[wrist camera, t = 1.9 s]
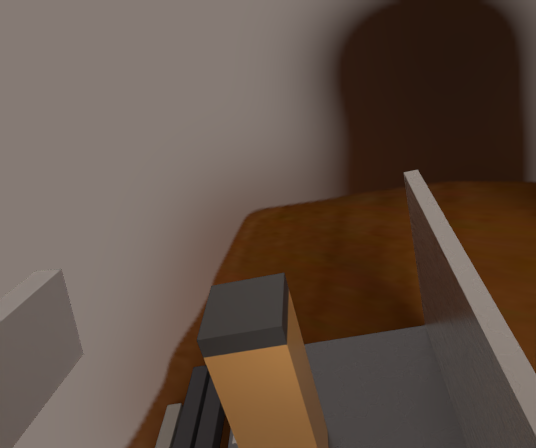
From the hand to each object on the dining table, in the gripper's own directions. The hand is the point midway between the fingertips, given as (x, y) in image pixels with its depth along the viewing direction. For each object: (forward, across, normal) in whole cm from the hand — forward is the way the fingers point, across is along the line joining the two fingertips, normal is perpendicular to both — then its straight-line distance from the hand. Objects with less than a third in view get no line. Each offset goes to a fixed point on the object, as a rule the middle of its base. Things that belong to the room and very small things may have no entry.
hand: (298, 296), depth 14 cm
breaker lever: (+15, -2, -19) cm, 24 cm away
